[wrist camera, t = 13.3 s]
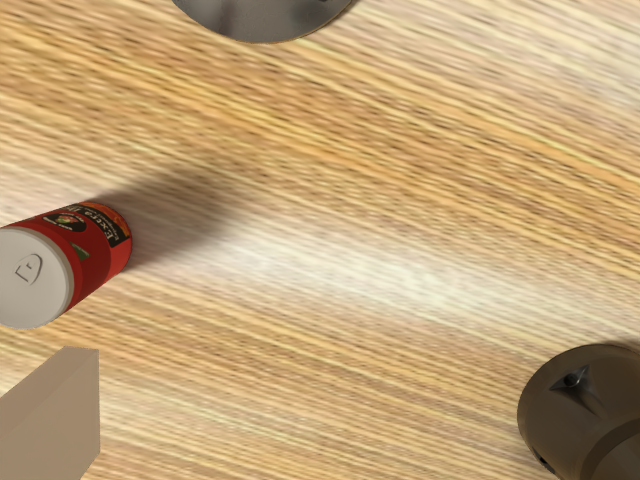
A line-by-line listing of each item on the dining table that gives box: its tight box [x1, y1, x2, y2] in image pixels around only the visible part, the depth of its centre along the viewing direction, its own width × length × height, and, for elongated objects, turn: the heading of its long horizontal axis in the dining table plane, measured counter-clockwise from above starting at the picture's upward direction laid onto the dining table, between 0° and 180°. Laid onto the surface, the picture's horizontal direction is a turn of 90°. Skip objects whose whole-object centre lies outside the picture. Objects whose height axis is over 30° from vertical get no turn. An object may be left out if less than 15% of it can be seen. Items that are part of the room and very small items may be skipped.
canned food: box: [0, 202, 132, 329], centre depth 36 cm, size 8×8×11 cm
